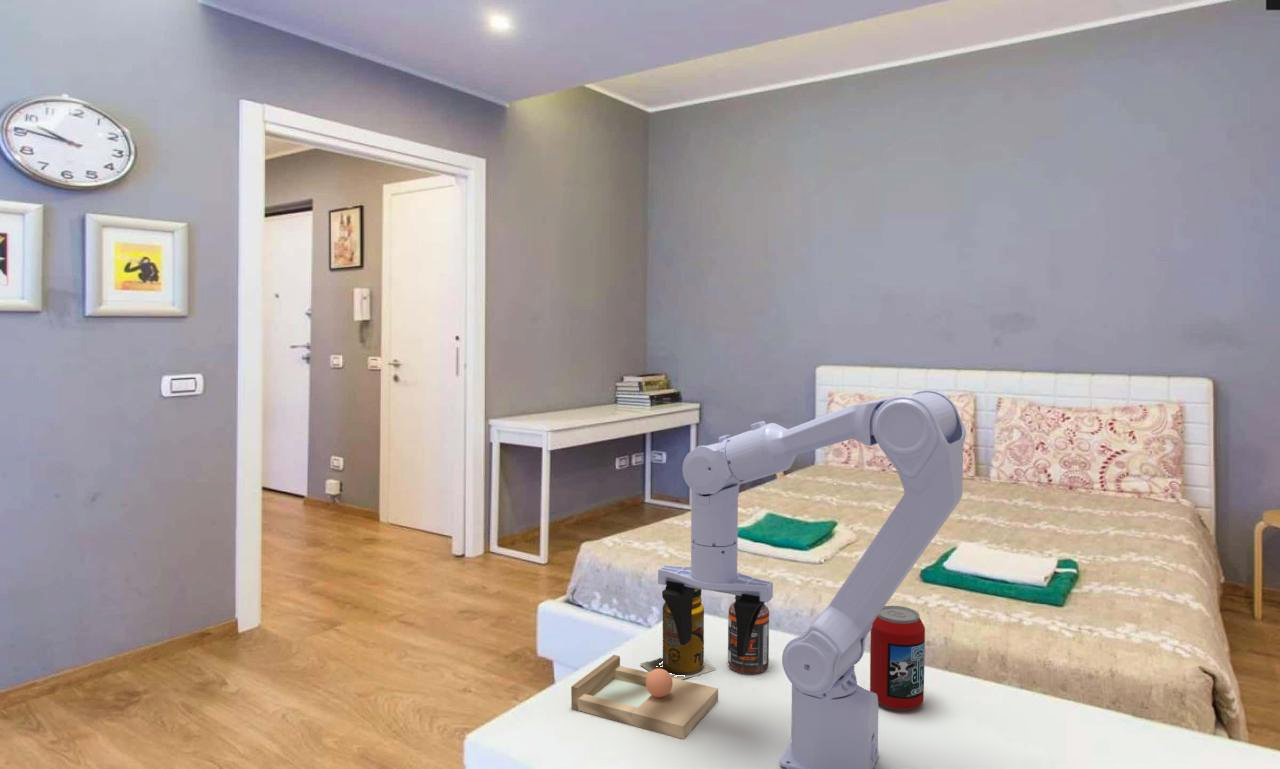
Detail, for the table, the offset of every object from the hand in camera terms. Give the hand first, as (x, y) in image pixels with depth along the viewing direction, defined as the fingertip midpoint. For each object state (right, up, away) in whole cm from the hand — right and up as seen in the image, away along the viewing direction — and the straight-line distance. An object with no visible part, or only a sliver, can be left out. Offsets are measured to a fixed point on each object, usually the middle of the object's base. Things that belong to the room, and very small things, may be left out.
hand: (713, 647), depth 95 cm
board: (-8, -9, +5) cm, 14 cm away
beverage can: (+25, -9, +6) cm, 27 cm away
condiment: (-4, -9, +16) cm, 19 cm away
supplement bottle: (+7, -9, +16) cm, 20 cm away
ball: (-7, -6, +4) cm, 10 cm away
